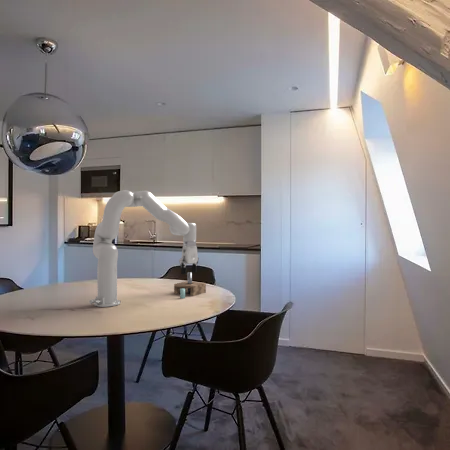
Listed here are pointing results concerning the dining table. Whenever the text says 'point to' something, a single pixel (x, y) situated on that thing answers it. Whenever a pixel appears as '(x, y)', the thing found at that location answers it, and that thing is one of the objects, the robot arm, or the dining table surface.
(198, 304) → the dining table surface
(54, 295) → the dining table surface
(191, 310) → the dining table surface
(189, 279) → the long pin
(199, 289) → the bridge
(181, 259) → the robot arm
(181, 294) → the short pin
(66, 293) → the dining table surface
